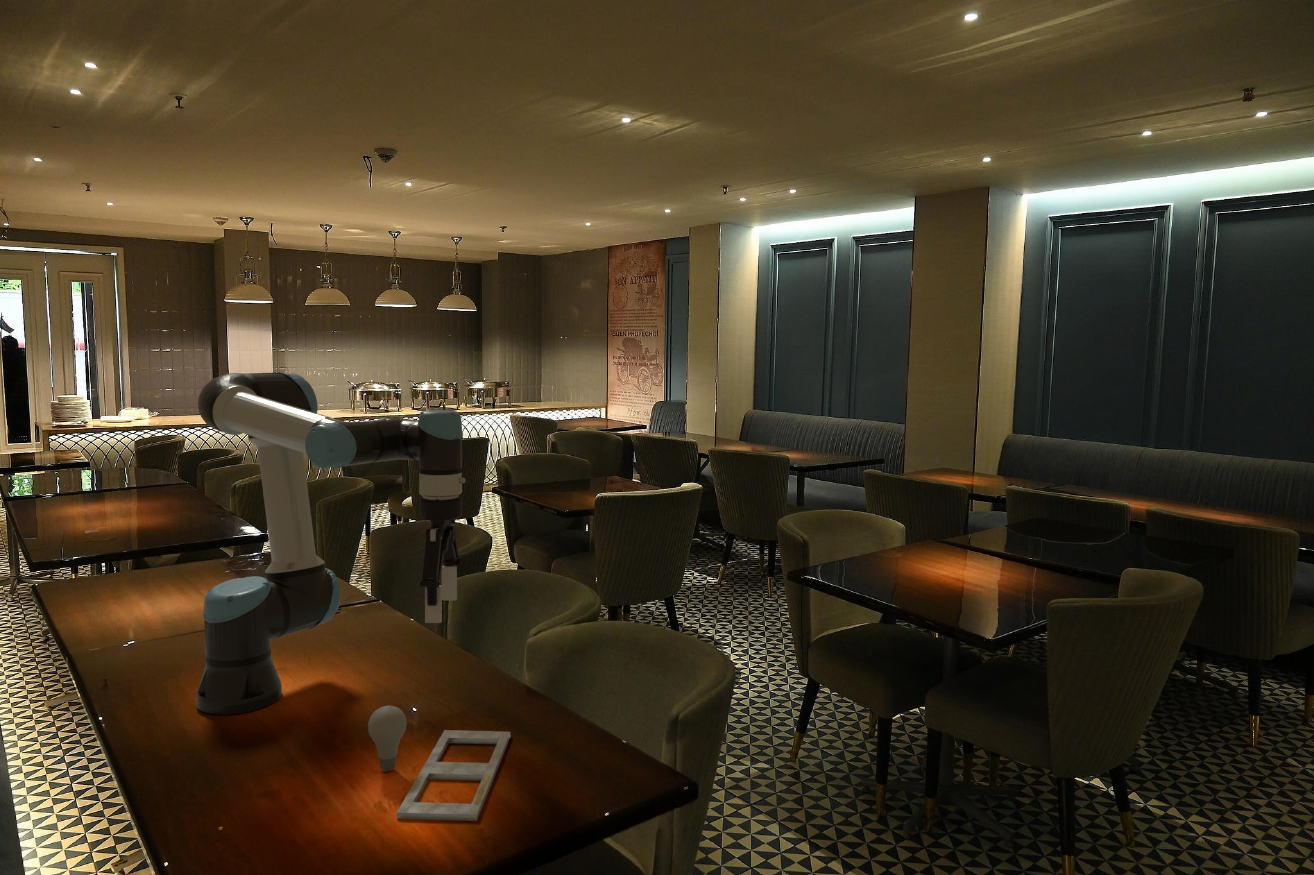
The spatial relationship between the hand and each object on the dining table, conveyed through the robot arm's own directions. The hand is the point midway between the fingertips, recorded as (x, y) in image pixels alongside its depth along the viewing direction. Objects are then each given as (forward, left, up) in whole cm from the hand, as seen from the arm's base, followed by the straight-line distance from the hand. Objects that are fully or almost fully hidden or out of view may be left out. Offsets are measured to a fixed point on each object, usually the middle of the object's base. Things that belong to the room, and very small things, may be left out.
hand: (441, 610), depth 157 cm
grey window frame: (+7, -17, -22) cm, 29 cm away
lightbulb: (-5, -17, -22) cm, 28 cm away
